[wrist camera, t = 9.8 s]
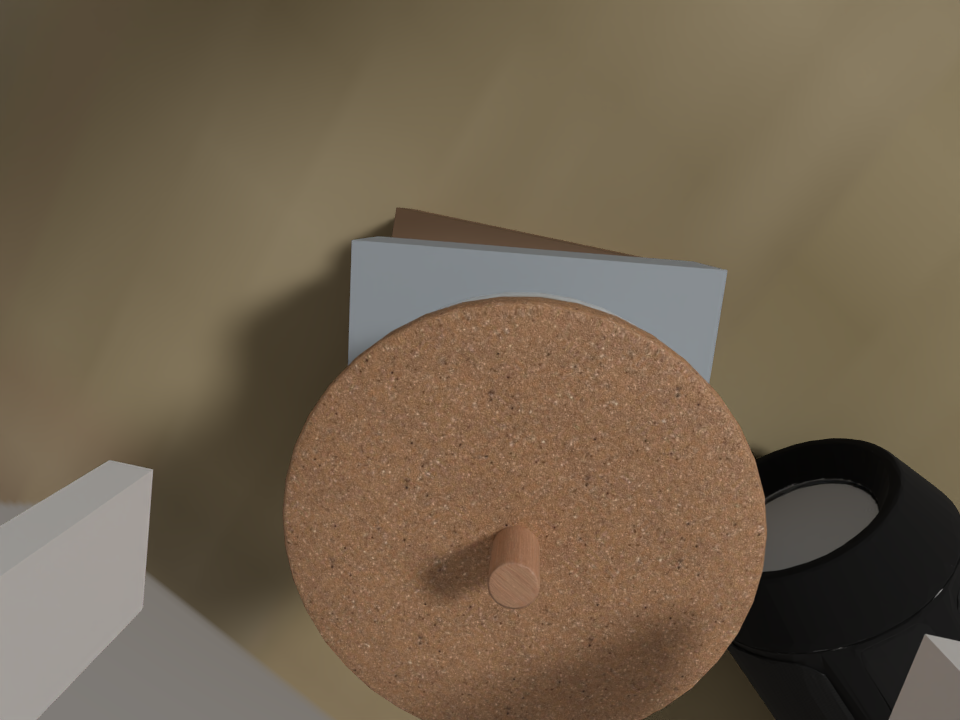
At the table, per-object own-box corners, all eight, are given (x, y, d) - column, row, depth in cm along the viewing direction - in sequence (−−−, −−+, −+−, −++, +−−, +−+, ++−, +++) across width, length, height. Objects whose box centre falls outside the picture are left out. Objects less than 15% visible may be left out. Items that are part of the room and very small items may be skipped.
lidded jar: (508, 198, 20) (482, 183, 11) (757, 417, 21) (929, 577, 12) (307, 438, 22) (147, 593, 13) (537, 626, 23) (536, 894, 14)
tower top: (378, 236, 24) (351, 239, 21) (693, 261, 24) (727, 270, 20) (367, 521, 27) (341, 572, 23) (650, 549, 27) (672, 606, 23)
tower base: (413, 208, 28) (396, 207, 24) (680, 264, 28) (706, 272, 24) (369, 458, 31) (348, 493, 27) (612, 510, 31) (626, 553, 27)
